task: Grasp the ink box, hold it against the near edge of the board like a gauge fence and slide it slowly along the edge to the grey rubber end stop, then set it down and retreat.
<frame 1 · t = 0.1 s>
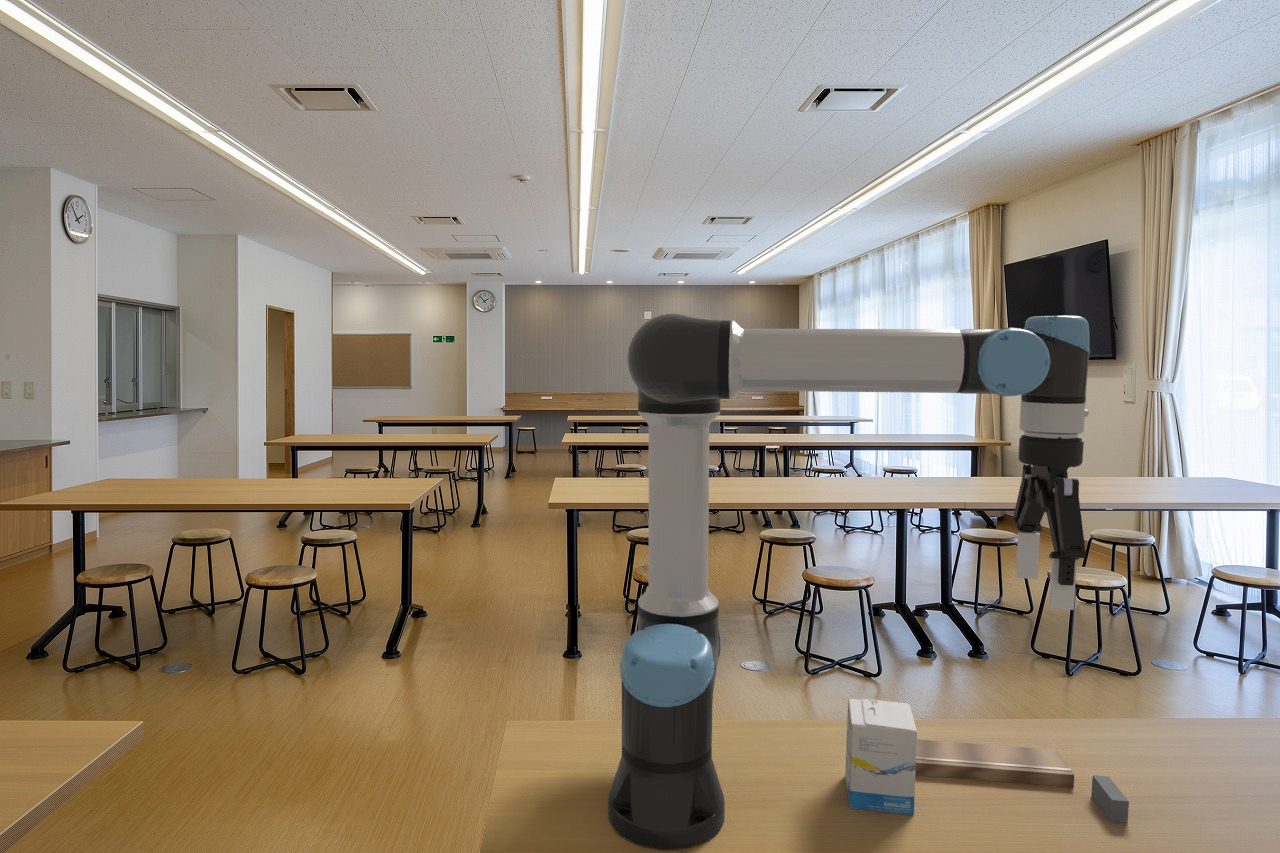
hand: (1042, 592, 106), 28 cm above the table, fingers open, 13 cm apart
end stop: (1108, 809, 104), on the table
board: (968, 766, 115), on the table
ink box: (878, 796, 107), on the table
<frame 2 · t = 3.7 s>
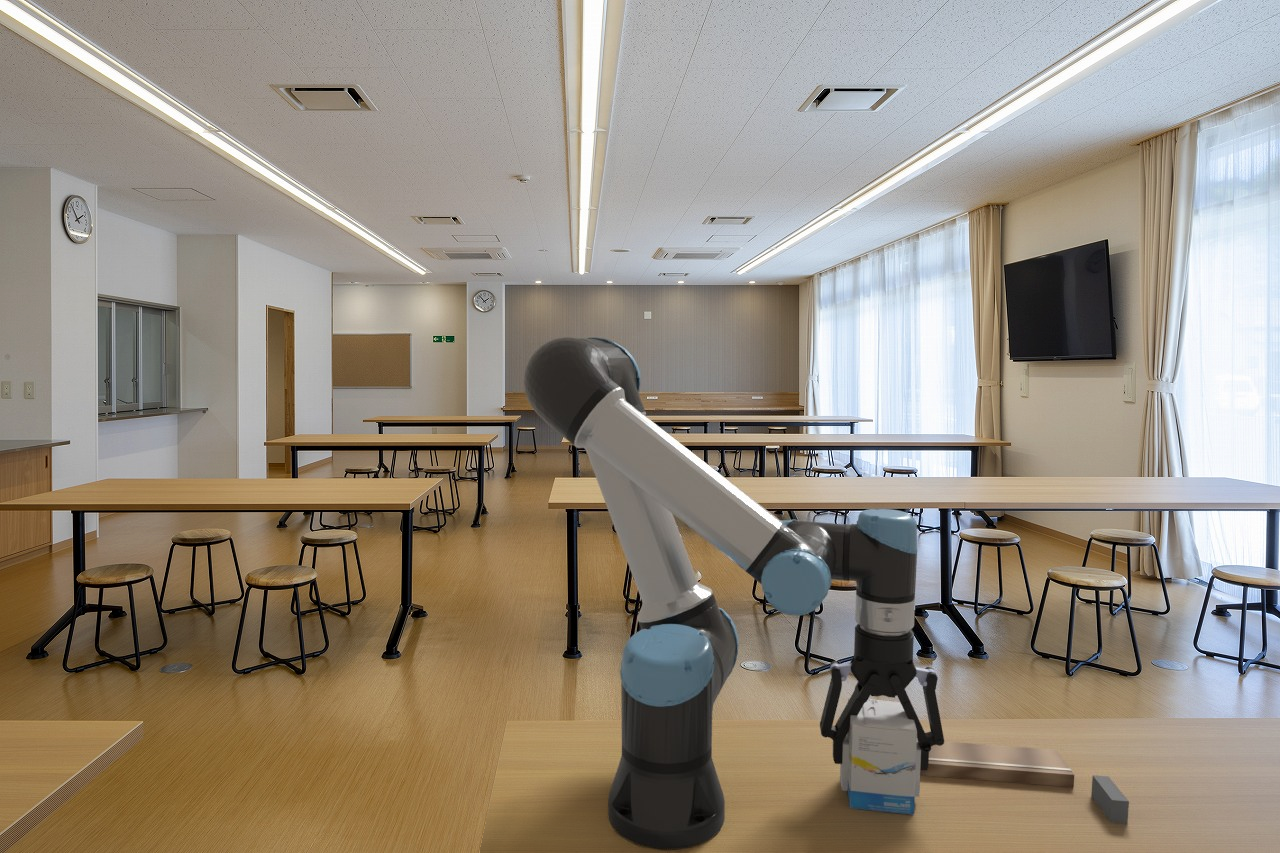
hand: (878, 788, 107), 1 cm above the table, fingers closed on ink box, 9 cm apart
ink box: (878, 795, 107), on the table, touching gripper
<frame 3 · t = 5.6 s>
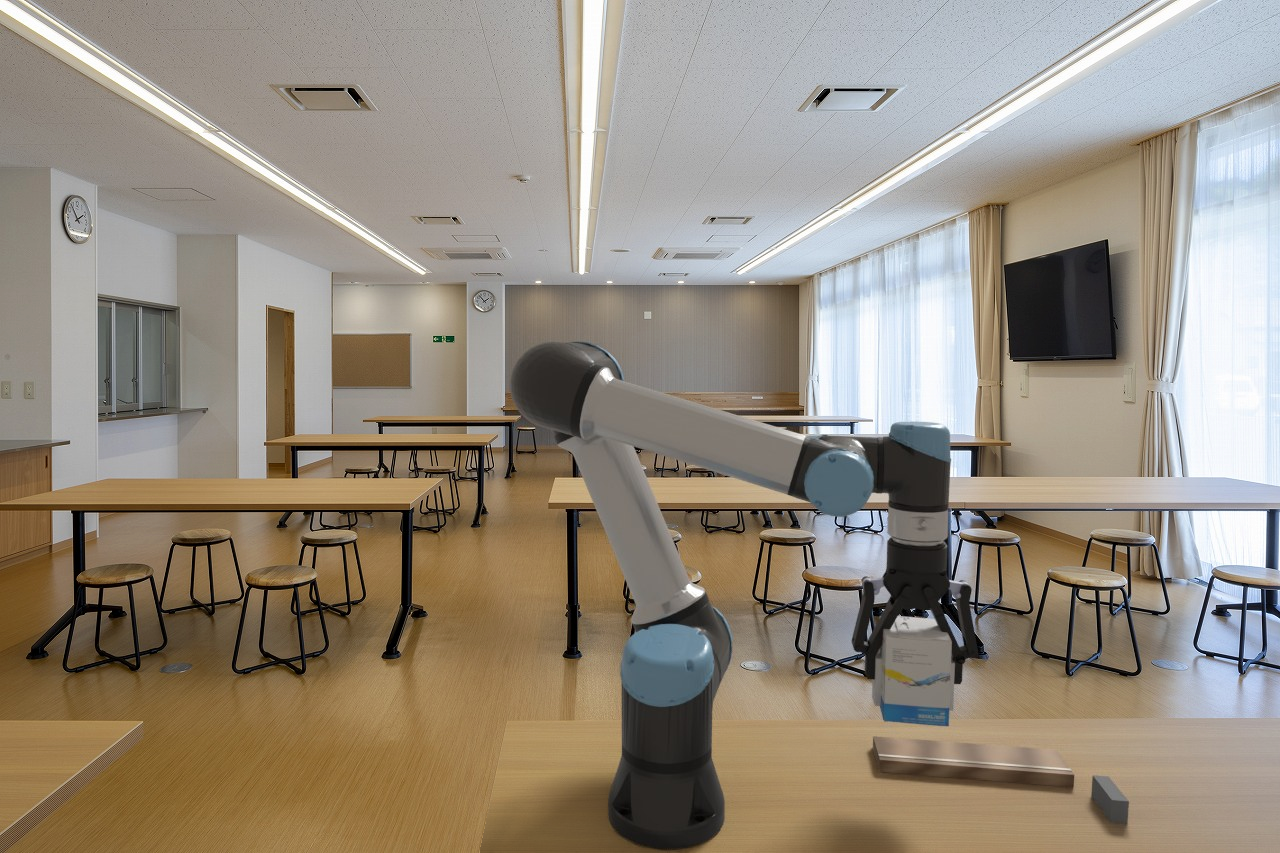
hand: (911, 703, 107), 13 cm above the table, fingers closed on ink box, 9 cm apart
ink box: (911, 711, 107), point 12 cm above the table, touching gripper
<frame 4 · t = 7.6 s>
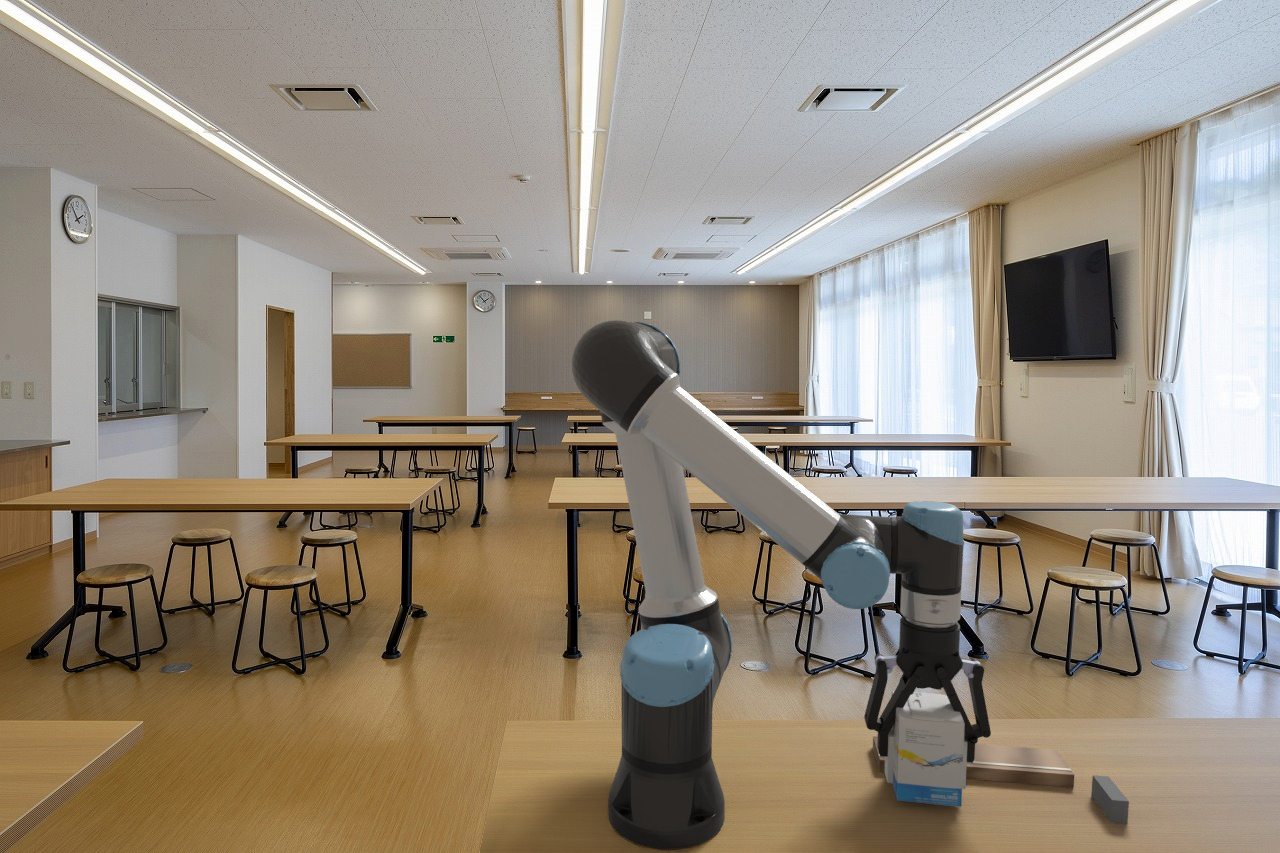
hand: (924, 780, 107), 2 cm above the table, fingers closed on ink box, 9 cm apart
ink box: (923, 788, 107), point 1 cm above the table, touching gripper
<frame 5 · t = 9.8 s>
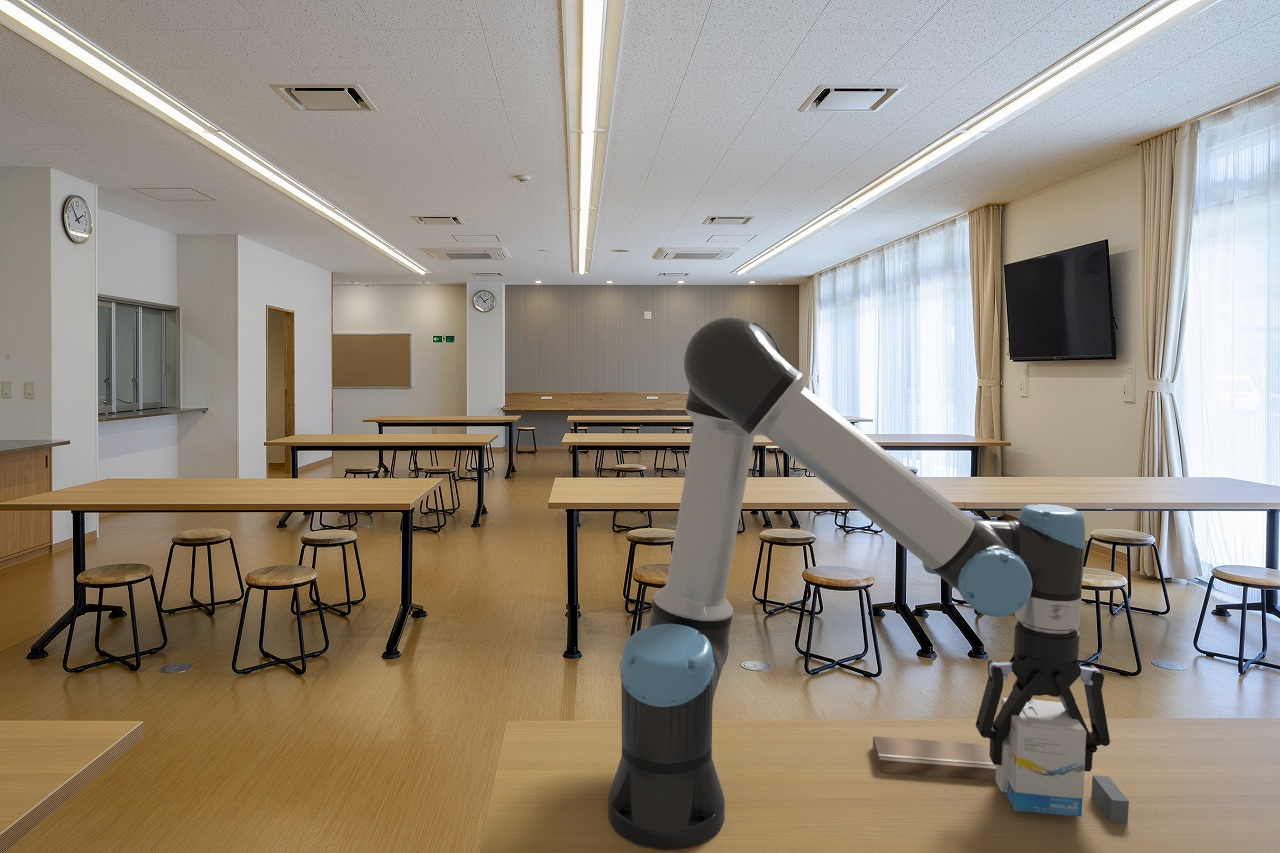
hand: (1038, 789, 105), 2 cm above the table, fingers closed on ink box, 9 cm apart
ink box: (1037, 797, 105), point 1 cm above the table, touching gripper
when the fingers open (2 cm above the table, at t = 11.7 s): ink box stays where it is, on the table.
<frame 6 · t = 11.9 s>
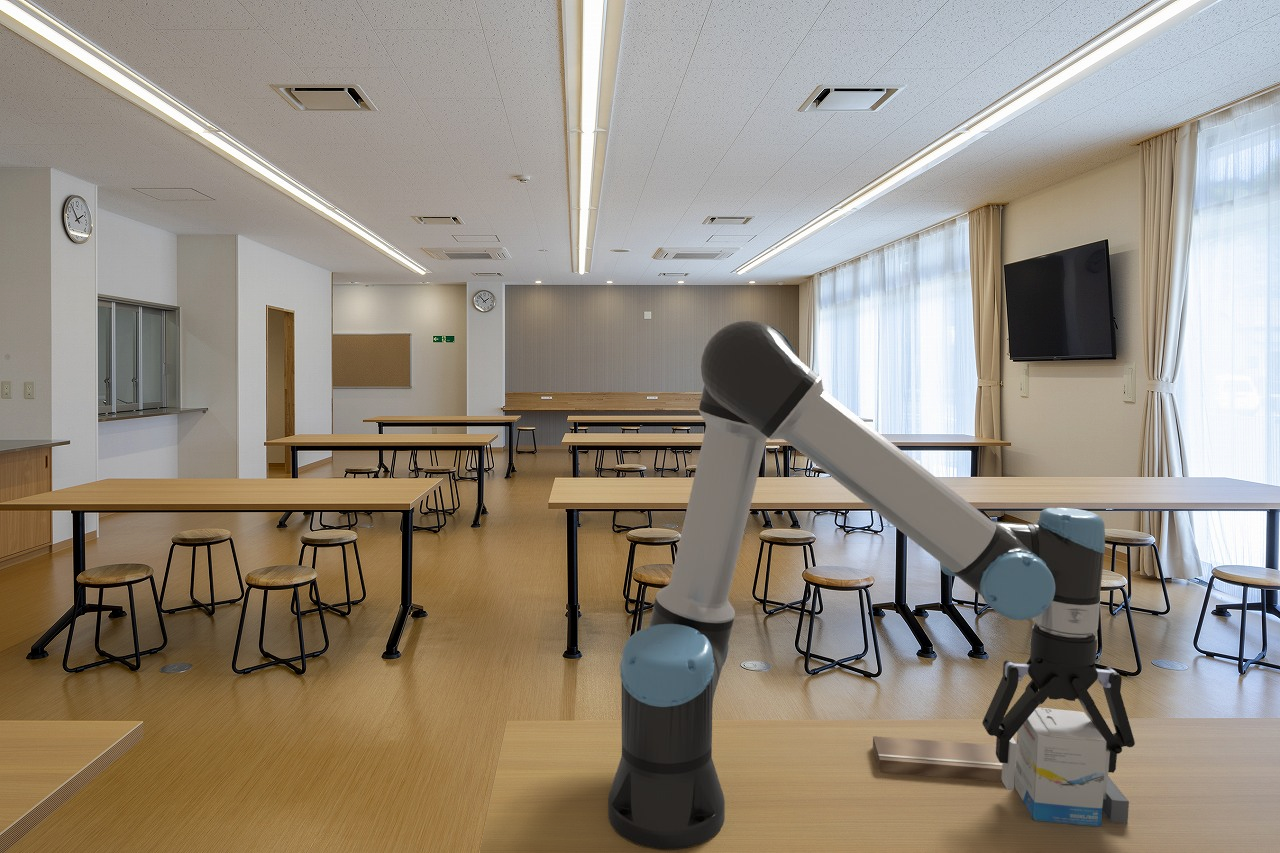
hand: (1052, 789, 105), 2 cm above the table, fingers open, 11 cm apart
ink box: (1056, 807, 105), on the table
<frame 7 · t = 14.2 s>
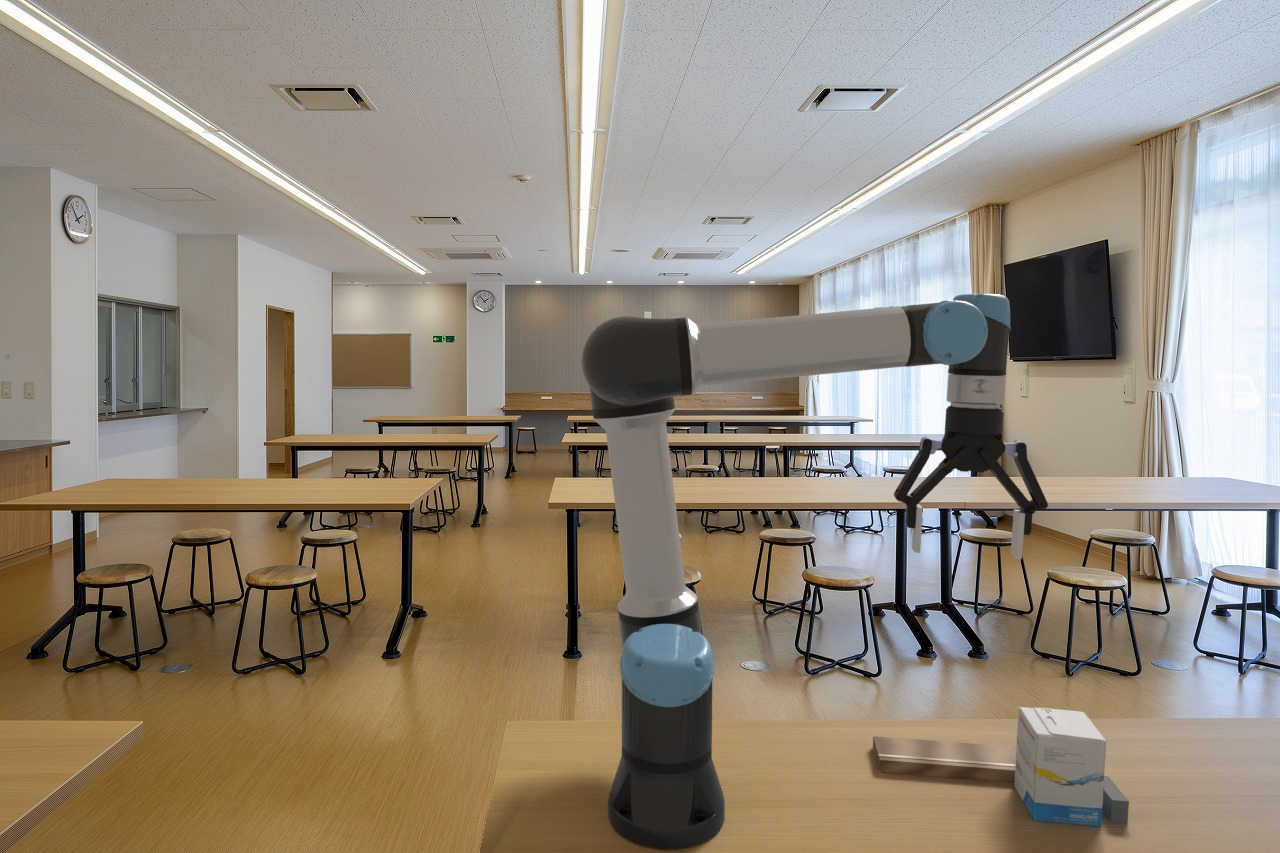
hand: (965, 553, 113), 31 cm above the table, fingers open, 13 cm apart
nothing on the table moved.
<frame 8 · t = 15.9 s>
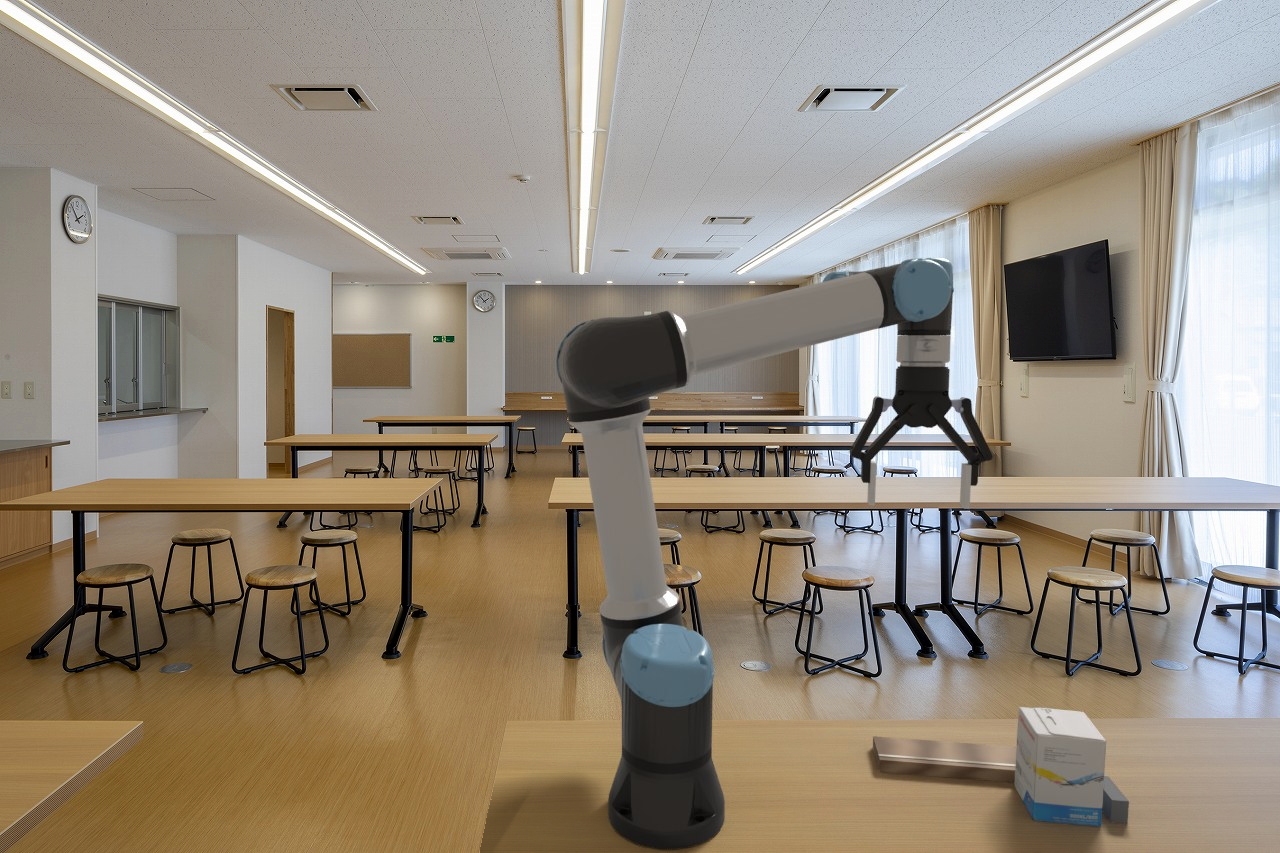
hand: (917, 505, 120), 37 cm above the table, fingers open, 13 cm apart
nothing on the table moved.
at the end: ink box inside the target area (0.0 cm from its centre), on the table; ink box tilted 0°; the gripper is holding nothing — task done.
